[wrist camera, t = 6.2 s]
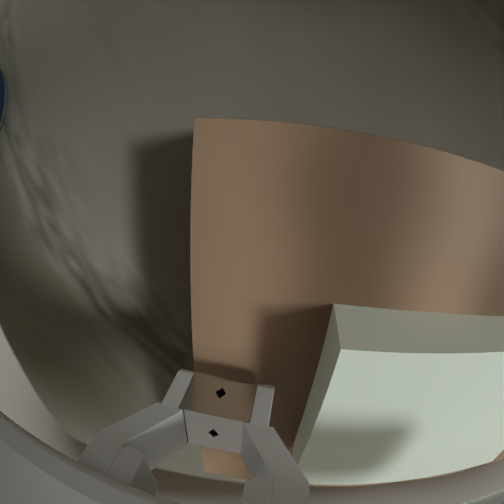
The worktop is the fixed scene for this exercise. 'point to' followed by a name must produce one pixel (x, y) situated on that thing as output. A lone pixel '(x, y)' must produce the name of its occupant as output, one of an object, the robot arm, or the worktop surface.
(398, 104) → the worktop surface
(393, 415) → the pale white flat block
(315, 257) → the deck
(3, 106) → the soda can
